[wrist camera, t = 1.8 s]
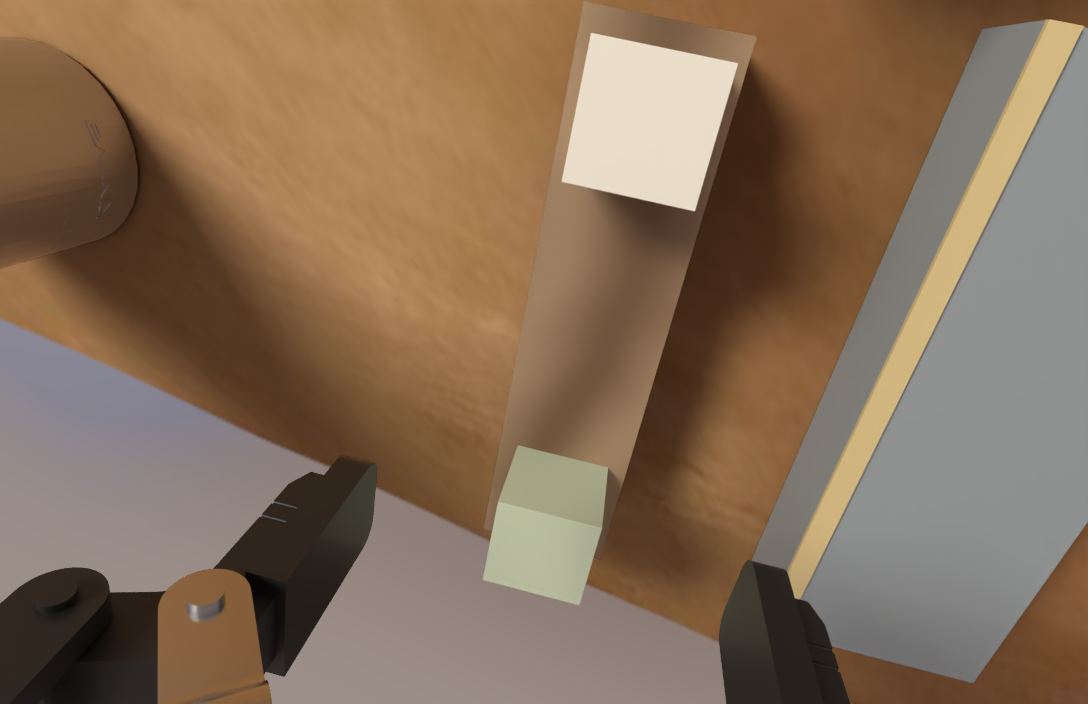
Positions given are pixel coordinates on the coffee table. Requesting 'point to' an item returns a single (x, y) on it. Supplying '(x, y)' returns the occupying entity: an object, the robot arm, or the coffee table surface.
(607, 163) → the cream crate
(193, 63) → the coffee table surface
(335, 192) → the coffee table surface
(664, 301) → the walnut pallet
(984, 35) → the slate dock
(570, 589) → the block
